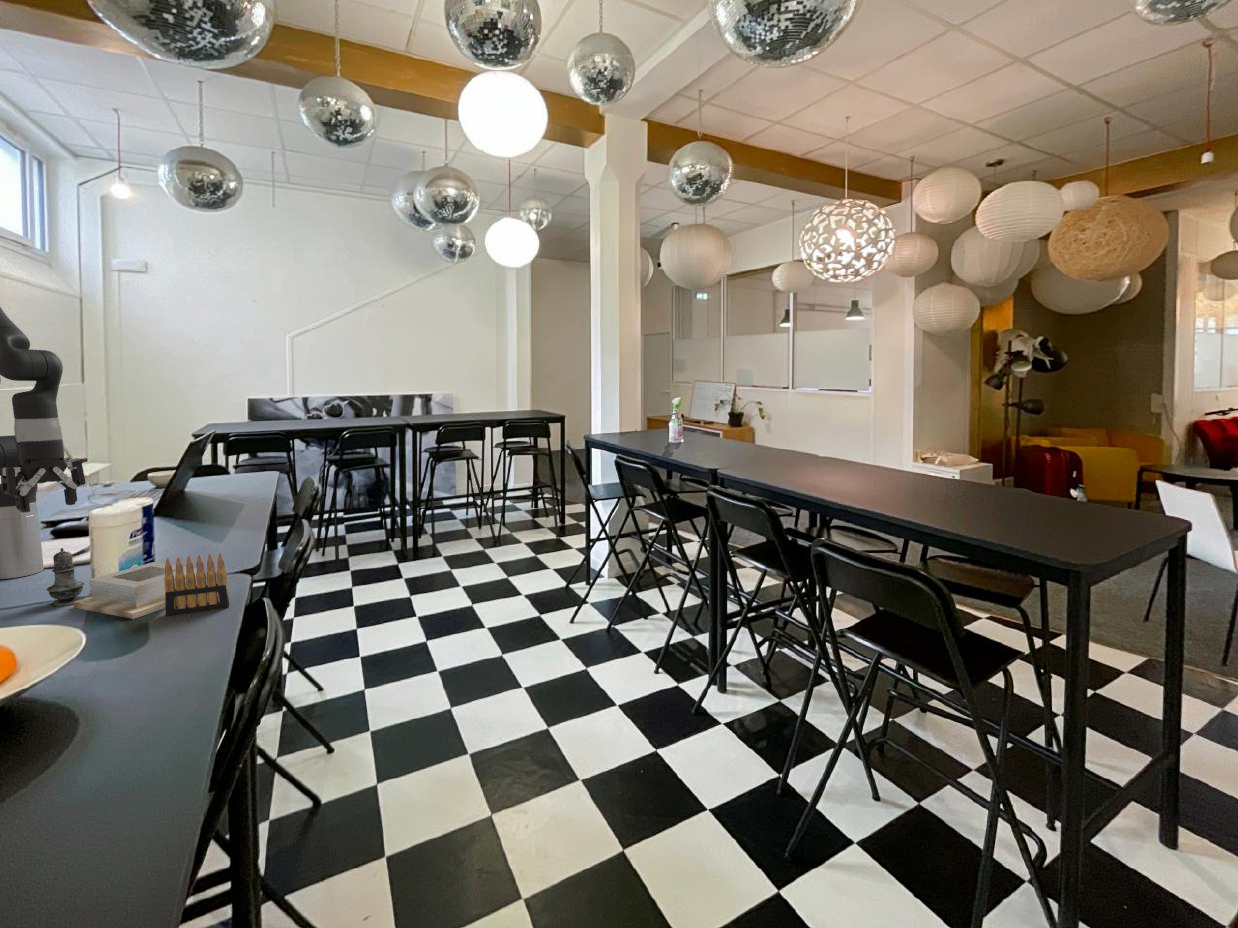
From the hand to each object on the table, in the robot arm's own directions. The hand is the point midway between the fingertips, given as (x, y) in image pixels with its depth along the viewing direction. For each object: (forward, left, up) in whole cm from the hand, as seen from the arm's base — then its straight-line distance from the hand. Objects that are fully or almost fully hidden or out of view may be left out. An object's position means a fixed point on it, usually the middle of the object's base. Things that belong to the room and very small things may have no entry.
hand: (48, 508), depth 132 cm
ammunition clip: (+47, -2, -18) cm, 50 cm away
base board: (+31, -1, -17) cm, 35 cm away
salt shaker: (+18, -8, -18) cm, 26 cm away
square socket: (+31, -1, -16) cm, 35 cm away
